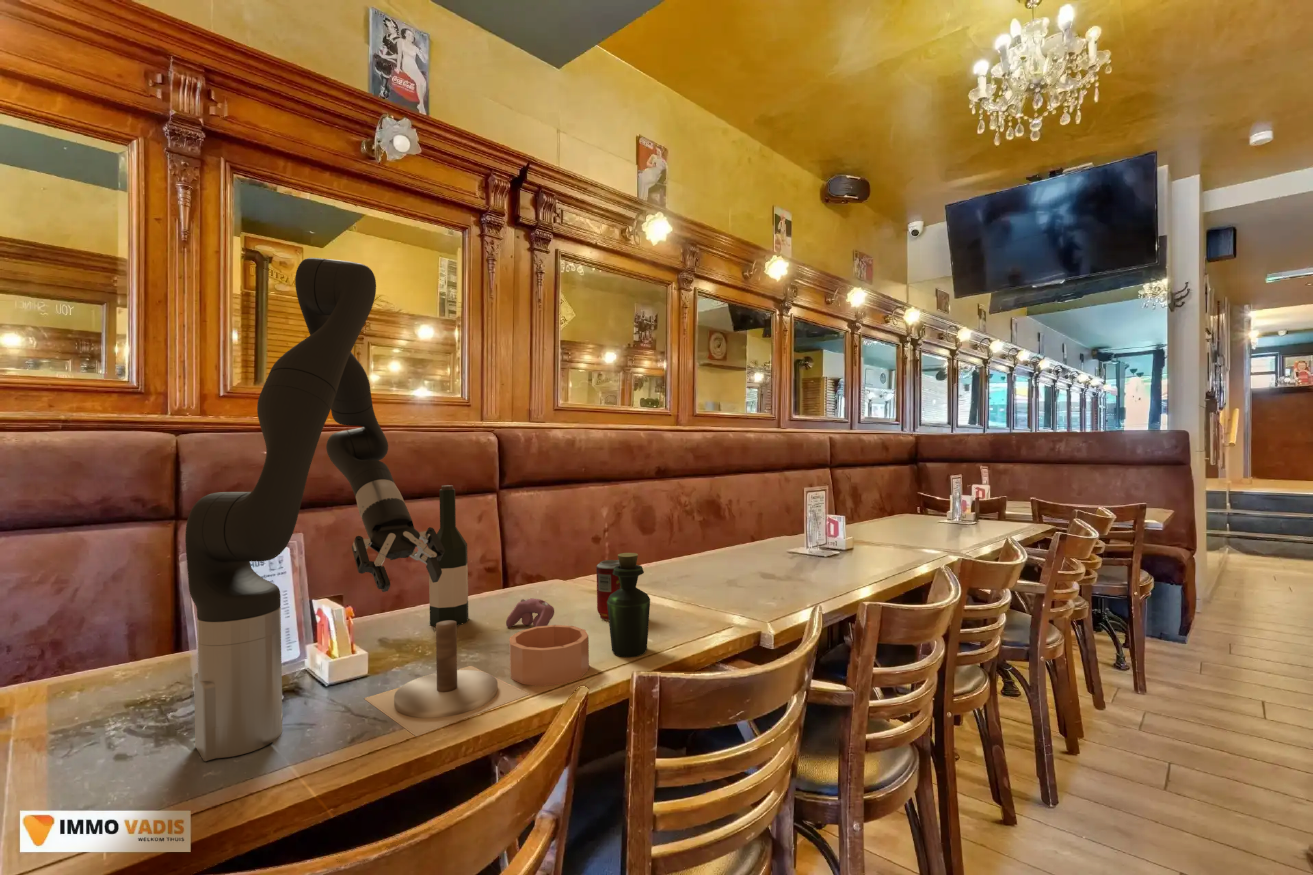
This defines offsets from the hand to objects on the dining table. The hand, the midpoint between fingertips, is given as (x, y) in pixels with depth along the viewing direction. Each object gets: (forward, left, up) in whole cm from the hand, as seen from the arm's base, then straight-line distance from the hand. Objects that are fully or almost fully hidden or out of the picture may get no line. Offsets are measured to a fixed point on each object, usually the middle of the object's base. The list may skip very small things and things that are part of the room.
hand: (412, 583), depth 102 cm
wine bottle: (+20, +27, -16) cm, 37 cm away
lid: (0, -11, -16) cm, 19 cm away
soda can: (+46, +2, -16) cm, 49 cm away
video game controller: (+29, +9, -16) cm, 35 cm away
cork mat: (0, -11, -16) cm, 20 cm away
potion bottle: (+33, -17, -16) cm, 41 cm away
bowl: (+17, -14, -16) cm, 27 cm away
